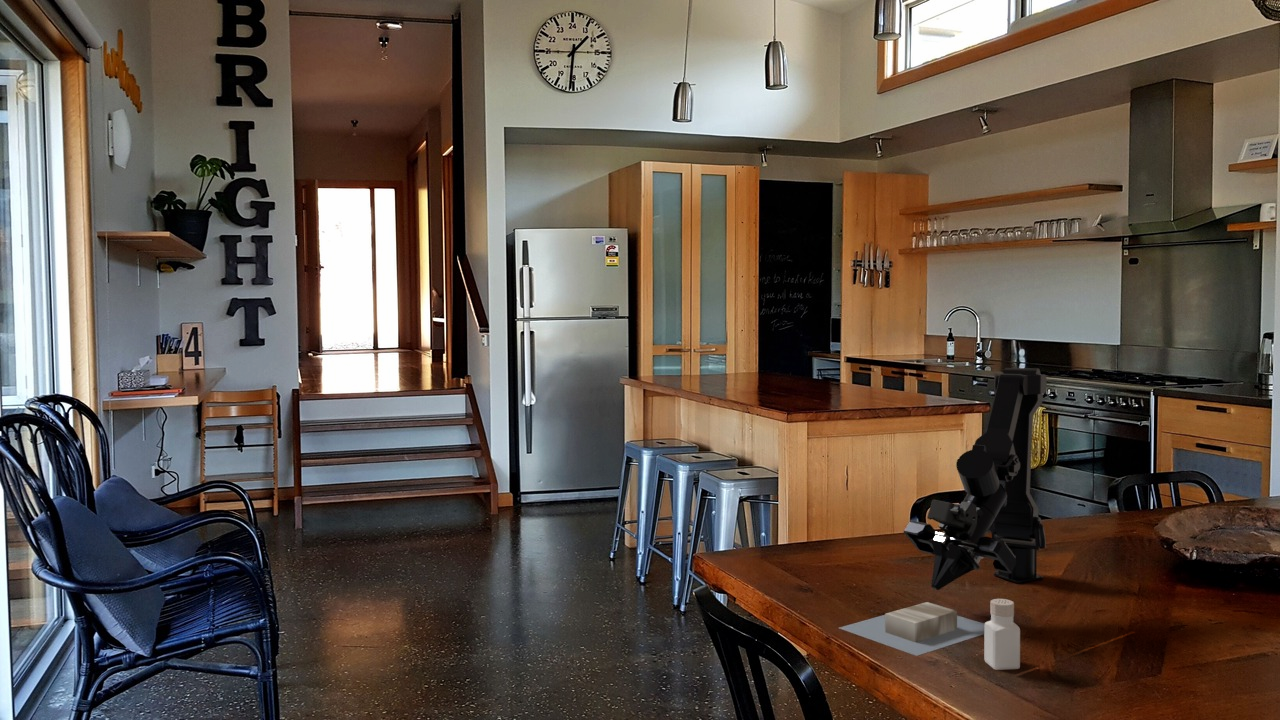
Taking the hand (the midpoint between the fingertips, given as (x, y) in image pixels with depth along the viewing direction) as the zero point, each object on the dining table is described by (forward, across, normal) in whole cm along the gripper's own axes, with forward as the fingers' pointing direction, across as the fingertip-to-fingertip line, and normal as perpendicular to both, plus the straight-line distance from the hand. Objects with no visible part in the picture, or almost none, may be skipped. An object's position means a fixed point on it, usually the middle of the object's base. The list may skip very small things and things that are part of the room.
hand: (934, 588), depth 163 cm
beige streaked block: (+2, 0, +5) cm, 5 cm away
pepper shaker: (+9, +17, +1) cm, 19 cm away
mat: (+6, -1, +3) cm, 7 cm away
